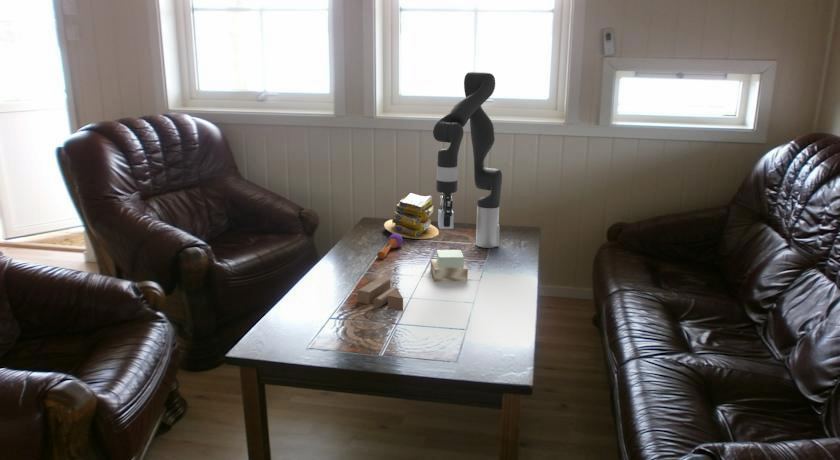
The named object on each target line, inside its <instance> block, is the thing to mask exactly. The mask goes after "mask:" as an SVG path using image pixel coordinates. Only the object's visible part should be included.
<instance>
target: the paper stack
mask: <svg viewBox="0 0 840 460" xmlns="http://www.w3.org/2000/svg"><path fill="white" fill-rule="evenodd" d="M432 202H433V197H432V195H427V196H424V195H421V194H420V195H419V194H416V193H413V192H412V193H411V192H410V193H409V194H408V195H406V196H404V197H403V198H402V199H401V200H399V203H397V204H396V206H395V210H393V211H394V214H392V219H388V220H386V221H385V222H384V224H383V226H384V228H385V229H386V230H387V231H388V232H389V233H391V234H399V235H401V237H402V238H407V239H415V240H417V239H419V240H426V239H427V240H428V239H433V238H434V237H436V236H438V235H439V233H440V232H439V229H438V227H436V226H434V225H432V224H431V223H432V219H431V218H429V217H430V216H431V215H432V214H433V212H434V209H435V205H433V204H432Z"/></svg>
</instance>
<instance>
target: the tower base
mask: <svg viewBox="0 0 840 460" xmlns="http://www.w3.org/2000/svg"><path fill="white" fill-rule="evenodd" d="M468 270H469V269H468V267H467V265H466V263H465V262H464V268H439V267H438V263H437V258H430V273H431V275H432V279H433V282H435V283H436V282H437V283H438V282H439V283H440V282H441V283H442V282H467V281H468V273H469V271H468Z"/></svg>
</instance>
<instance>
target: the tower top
mask: <svg viewBox="0 0 840 460" xmlns="http://www.w3.org/2000/svg"><path fill="white" fill-rule="evenodd" d="M464 257H465V256H464V255H463V252H462V250H461V249H437V250H436V259H437V263H438V267H439V268H464V263H465V258H464Z"/></svg>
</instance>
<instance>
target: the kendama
mask: <svg viewBox="0 0 840 460" xmlns="http://www.w3.org/2000/svg"><path fill="white" fill-rule="evenodd" d="M388 237H389V238H388V242H387V244H388V246H387V245H386V247H385V248H383V249H381V250H379V251H378V252H377V254H376V257H377V258H378V259H379V258H380V259H381V260H384V259H385V258H386V256H387V254H388V253H389V251H390V250H391V249H396V248H400V247H401V246H402V245H403V241H404V239H403V237H402V236H401V235H399V234H394V233H391V235H390V236H388Z"/></svg>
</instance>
